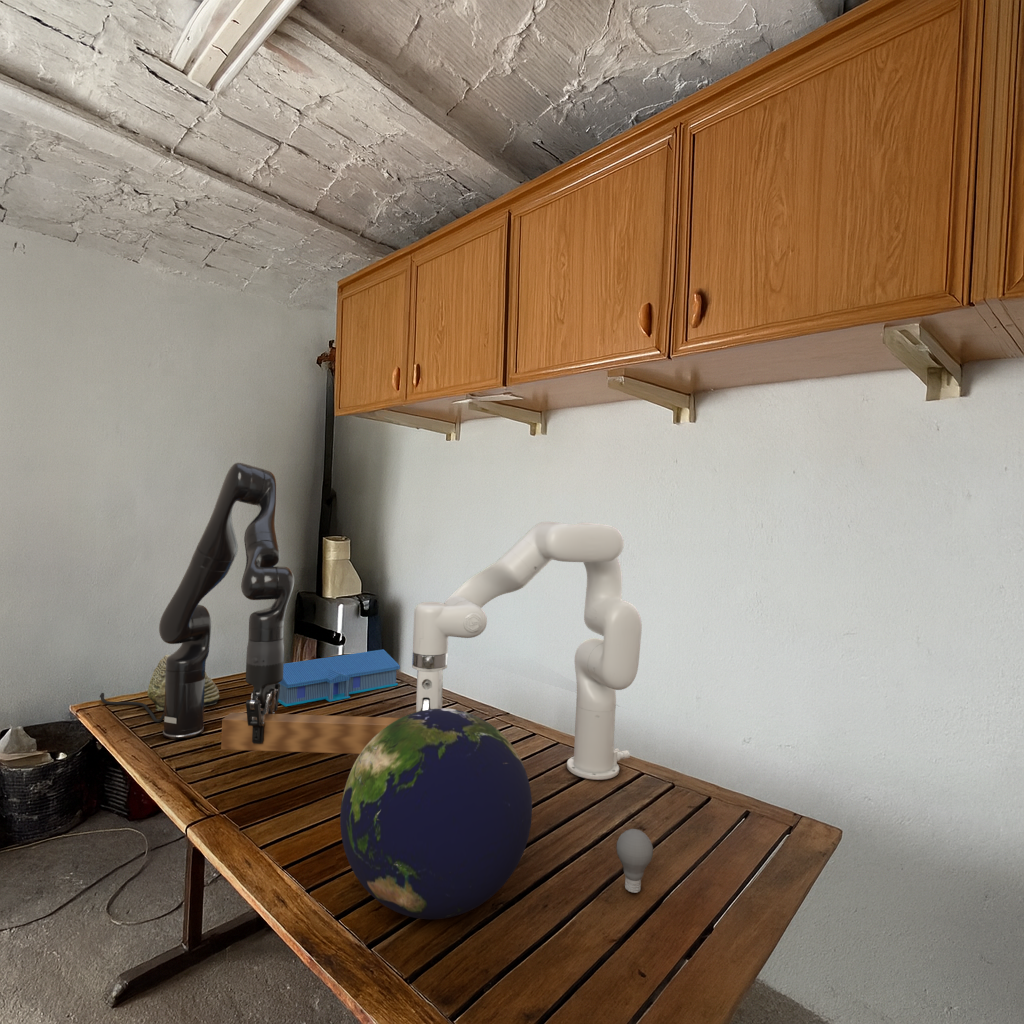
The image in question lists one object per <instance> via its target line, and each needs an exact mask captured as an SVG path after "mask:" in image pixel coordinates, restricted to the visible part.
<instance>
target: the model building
mask: <svg viewBox="0 0 1024 1024" xmlns="http://www.w3.org/2000/svg"><path fill="white" fill-rule="evenodd" d="M400 669H401V665H400V664H399V663H398V662H397V661H396V660H395V659H394V658H393V657H392V656H391V654H389V653H388V652H387V651H386V650H385V649H376V650H368V651H363V652H356V653H349V654H342V655H341V654H340V655H335V656H329V657H328V656H327V657H321V658H315V659H314V658H313V659H307V660H300V661H293V662H287V663H285V662H284V667H283V680H282V681H281V682H279V683H280V692H279V700H278V704H280V705H282V706H283V707H290V706H297V705H302V704H307V703H312V702H317V701H323V700H325V701H327V702H329V703H330V702H335V701H341V700H346V699H347V700H348V699H350V698H351V695H353V694H359V693H364V692H365V693H366V692H369V691H373V690H381V689H385V688H390V687H391V688H392V687H395V686H399V683H398V682H397V670H400Z"/></svg>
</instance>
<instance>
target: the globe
mask: <svg viewBox="0 0 1024 1024" xmlns="http://www.w3.org/2000/svg"><path fill="white" fill-rule="evenodd" d="M399 718H400V719H398V720H396V721H395V722H393V723H391V724H390V725H388V726H387V727H385V728H384V729H383V730H381V731H380V732H379V733H378V734H377V735H376V736H375V737H374V738H373V739H372V740H371V741H370V742H369V743H368V744H367V745H366V746H365V748H364V749H363V750H362V752H361V753H360V754H358V756H357V758H356V760H355V761H354V762H353V765H352V767H351V769H350V772H349V774H348V776H347V779H346V782H345V785H344V788H343V791H342V797H341V804H340V813H339V814H340V815H339V816H340V817H339V819H340V820H339V821H340V822H339V824H340V835H341V841H342V845H343V850H344V853H345V856H346V858H347V862H348V864H349V866H350V868H351V870H352V873H354V876H355V877H356V878H357V880H358V882H359V884H361V886H362V887H363V888H364V890H366V891H367V892H368V893H369V895H370V896H372V897H373V899H375V900H376V901H377V902H379V903H380V904H381V905H382V906H384V907H386V908H388V909H389V910H391V911H393V912H395V913H398V914H400V915H402V916H405V917H408V918H409V917H410V918H412V919H413V918H414V919H419V920H443V919H449V918H454V917H457V916H460V915H463V914H465V913H468V912H470V911H472V910H475V909H476V908H478V907H480V906H481V905H482V904H484V903H486V902H487V901H488V900H490V899H491V898H492V897H493V896H495V894H496V893H498V892H499V891H500V890H501V889H502V888H503V887H504V885H505V884H506V883H507V882H508V880H509V879H510V878H511V877H512V875H513V874H514V872H515V871H516V869H517V868H518V866H519V863H520V862H521V860H522V857H523V855H524V853H525V851H526V847H527V844H528V841H529V839H530V838H529V837H530V832H531V826H532V818H533V798H532V791H531V786H530V780H529V777H528V773H527V771H526V768H525V765H524V763H523V760H522V758H521V756H520V754H519V753H518V751H517V750H516V748H515V746H513V745H512V743H511V742H510V740H509V739H508V738H507V737H506V736H505V735H504V734H503V732H501V731H500V730H499V729H498V728H497V727H495V726H494V725H493V724H491V723H489V722H488V721H486V720H485V719H483V718H482V717H479V716H477V715H475V714H473V713H470V712H467V711H463V710H458V709H455V708H450V707H449V708H448V707H447V708H445V707H444V708H443V707H442V709H428V710H423V711H418V712H416V711H415V712H412V713H409V714H406V715H404V716H402V717H399Z"/></svg>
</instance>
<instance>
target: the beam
mask: <svg viewBox="0 0 1024 1024" xmlns="http://www.w3.org/2000/svg"><path fill="white" fill-rule="evenodd" d="M261 716H262V715H261ZM400 718H401V717H386V716H385V717H382V716H354V715H353V716H352V715H325V714H323V715H321V714H295V713H293V714H292V713H291V714H290V713H275V714H266V717H265V724H264V741H263V742H262V743H261V744H255V743H253V742H252V730H253V726H248V721H247V712H229V713H228V714H227V715H226V716H224V717H223V718H222V719H221V740H220V741H221V742H220V743H221V744H220V745H221V746H220V749H221V750H223V751H229V750H230V751H254V752H255V751H257V752H259V751H261V752H288V753H290V752H292V753H320V754H321V753H322V754H323V753H324V754H352V755H353V754H354V755H355V754H356V755H360V753H361V752H362V750H363V749H364V748H365V746H366V745H367V744H368V743H369V742H370V741H371V740H372V739H373V738H374V737H375V736H376V735H377V734H378V733H379V732H380V731H381V730H383V729H384V728H385V727H387V726H388V725H390V724H391V723H393V722H395V721H396V720H398V719H400ZM256 720H257V718H256Z"/></svg>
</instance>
